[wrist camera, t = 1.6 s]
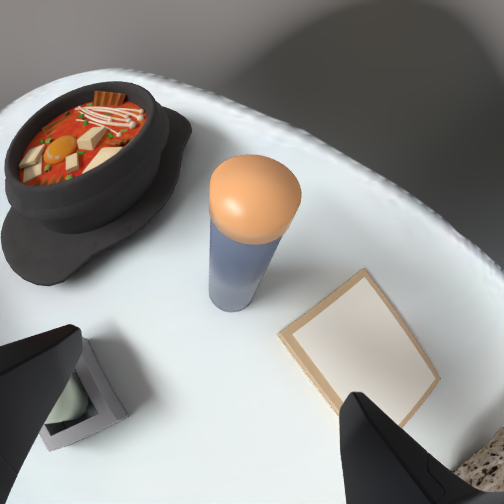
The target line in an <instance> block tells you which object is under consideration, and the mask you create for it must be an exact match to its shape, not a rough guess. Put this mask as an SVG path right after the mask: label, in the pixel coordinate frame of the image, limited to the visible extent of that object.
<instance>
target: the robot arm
mask: <svg viewBox="0 0 504 504" xmlns="http://www.w3.org/2000/svg"><path fill="white" fill-rule="evenodd" d="M82 352H83V342H82V333H81V329H80V328H79V327H76V326H74V325H72V324H68V325H65V326H62V327H59V328H56V329H53V330H50V331H47V332H43V333H40V334H37V335H34V336H31V337H28V338H25V339H22V340H18V341H15V342H12V343H9V344H6V345H3V346H0V504H5V503H6V500H7V498H8V496H9V493H10V491H11V489H12V487H13V484H14V482H15V480H16V478H17V476H18V473H19V471H20V469H21V467H22V465H23V463H24V461H25V459H26V457H27V455H28V453H29V451H30V449H31V447H32V445H33V443H34V441H35V439H36V438H37V436H38V434H39V432H40V430H41V428H42V427H43V425H44V423H45V421H46V420H47V418H48V416H49V414H50V413H51V411H52V409H53V407H54V406H55V404H56V402H57V401H58V399H59V397H60V396H61V394H62V392H63V391H64V389H65V387H66V385H67V383H68V381H69V379H70V377H71V375H72V373H73V371H74V369H75V367H76V365H77V363H78V361H79V359H80V356H81V355H82ZM339 426H340V453H341V461H342V469H343V477H344V486H345V495H346V504H504V491H500V492H486V491H481V490H479V489H476V488H475V487H473V486H472V485H470V484H469V483H467V482H466V481H464V480H463V479H461V478H460V477H459V476H457V475H456V474H454V473H453V472H452V471H450V470H449V469H448V468H446V467H445V466H444V465H442V464H441V463H440V462H439V461H438V460H436V459H435V458H434V457H433V456H432V455H431V454H430V453H427V451H426V450H425V449H424V448H423V447H422V446H421V445H419V444H418V443H417V442H416V441H415V440H414V439H413V438H412V437H411V436H410V435H408V434H407V433H406V432H405V431H404V430H403V429H402V428H401V427H400V426H399V425H397V424H396V423H395V422H394V421H393V420H392V419H391V418H390V417H389V416H388V415H387V414H385V413H384V412H383V411H382V410H381V409H380V408H379V407H378V406H377V405H376V404H375V403H374V402H373V401H372V400H370V399H369V398H368V397H367V396H366V395H365V394H364V393H363V392H355V391H353V392H350V393H349V395H348V396H347V398H346V399H345V401H344V403H343V404H342V406H341V407H340V410H339Z"/></svg>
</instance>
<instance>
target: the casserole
mask: <svg viewBox="0 0 504 504" xmlns="http://www.w3.org/2000/svg"><path fill="white" fill-rule="evenodd" d="M191 133H192V128H191V124H190V123H189V121H188V120H187V119H186V118H185V117H184V116H182V115H181V114H179V113H178V112H176V111H174V110H171V109H169V108H166V107H163V106H161V105H160V104H159V103H158V102H156V101H155V99H154V97H153V96H152V95H151V93H150V92H149V91H148V90H146V89H145V88H143V87H141V86H139V85H136V84H133V83H128V82H121V81H111V82H101V83H95V84H91V85H87V86H83V87H81V88H78V89H75V90H72V91H70V92H68V93H66V94H64V95H62V96H60V97H58V98H56V99H55V100H53V101H51V102H50V103H48V104H47V105H45V106H44V107H43V108H41V109H40V110H39V111H37V112H36V113H35V114H34V115H33V116H32V117H31V118H30V119H29V120H28V121H27V122H26V123H25V124H24V125H23V126H22V127H21V129H20V130H19V131H18V133H17V134H16V136H15V137H14V139H13V140H12V142H11V144H10V147H9V149H8V151H7V154H6V158H5V176H6V179H5V191H6V195H7V198H8V201H9V203H10V205H11V206H12V207H11V208H10V210H9V212H8V214H7V216H6V218H5V220H4V223H3V227H2V231H1V244H2V250H3V252H4V255H5V258H6V260H7V262H8V263H9V265H10V266H11V268H12V269H13V271H14V272H15V273H17V274H18V275H19V276H20V277H22V278H23V279H24V280H26V281H29V282H31V283H33V284H36V285H42V286H52V285H55V284H58V283H61V282H64V281H65V280H66V279H68V278H69V277H70V276H71V275H73V274H74V273H75V272H76V271H78V270H79V269H80V268H81V267H82V266H83V265H85V264H86V263H87V262H88V261H89V260H90V259H92V258H93V257H94V256H96V255H97V254H99V253H101V252H103V251H105V250H106V249H108V248H110V247H112V246H114V245H116V244H117V243H119V242H121V241H123V240H125V239H127V238H128V237H130V236H132V235H133V234H134V233H136V232H137V231H138V230H140V229H141V228H142V227H144V226H145V225H146V224H147V223H149V222H150V220H151V219H152V218H153V217H154V216H155V215H156V214H157V213H158V212H159V211H160V210H161V209H162V208H163V206H164V205H165V203H166V202H167V200H168V199H169V197H170V196H171V194H172V193H173V190H174V188H175V185H176V183H177V181H178V178H179V172H180V166H181V159H182V153H183V150H184V148H185V146H186V144H187V141H188V139H189V137H190V135H191Z"/></svg>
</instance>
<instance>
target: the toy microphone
mask: <svg viewBox="0 0 504 504" xmlns="http://www.w3.org/2000/svg"><path fill="white" fill-rule="evenodd" d="M300 202H301V188H300V185H299V182H298V180H297V178H296V177H295V175H294V174H293V173H292V172H291V171H290V170H289V169H288V168H287V167H286V166H284V165H283V164H281V163H280V162H278V161H276V160H274V159H271V158H269V157H265V156H260V155H240V156H235V157H232V158H230V159H228V160H226V161H224V162H223V163H221V164H220V165H219V166H218V167H217V168H216V169H215V171H214V172H213V174H212V176H211V180H210V192H209V213H210V217H211V225H210V257H209V295H210V298H211V300H212V302H213V303H214V305H215V306H216V307H218V308H219V309H221V310H223V311H226V312H237V311H240V310H242V309H244V308H245V307H247V306H248V304H249V303H250V302H251V300H252V298H253V296H254V294H255V291H256V289H257V287H258V285H259V283H260V281H261V279H262V277H263V275H264V273H265V271H266V269H267V267H268V265H269V263H270V261H271V259H272V256H273V254H274V252H275V250H276V248H277V246H278V244H279V242H280V240H281V238H282V236H283V234H284V233H285V232H286V231H287V229H288V228H289V226H290V224H291V222H292V220H293V218H294V216H295V214H296V211H297V209H298V207H299V205H300Z"/></svg>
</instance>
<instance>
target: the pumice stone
mask: <svg viewBox="0 0 504 504" xmlns="http://www.w3.org/2000/svg"><path fill="white" fill-rule="evenodd" d="M454 474H456V475H457V476H459V477H460V478H461V479H463V480H464V481H466V482H467V483H469V484H470V485H472V486H473V487H475V488H476V489H479V490H481V491H486V492H500V491H504V427H501V428H500V429H499V430H498V431H497V432H496V433H495V435H494V437H493V439H490V440H489V442H488V443H487V444H486V445H485V446H484V447H483V448H482V449H480V450H479V451H478V452H477V453H474V454H473V456H472V457H471V458H470V459H469V460H468V461H466V462H465V463H463V464H462V465H461V466H460V467H459V468H458V470H457V471H455V472H454Z"/></svg>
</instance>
